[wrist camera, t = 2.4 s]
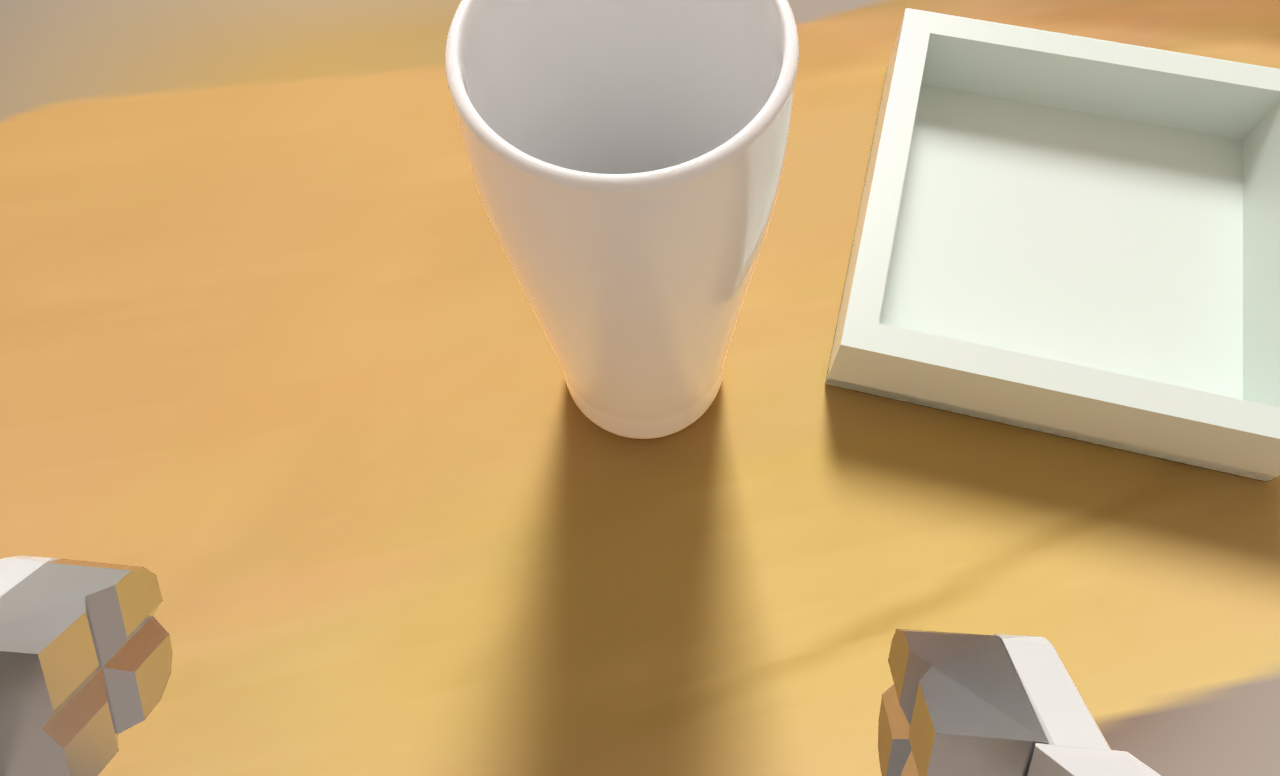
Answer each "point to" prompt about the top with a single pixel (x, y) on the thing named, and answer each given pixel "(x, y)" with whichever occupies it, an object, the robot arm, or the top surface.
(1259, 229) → the tray
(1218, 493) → the top surface
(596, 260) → the white tall cup
